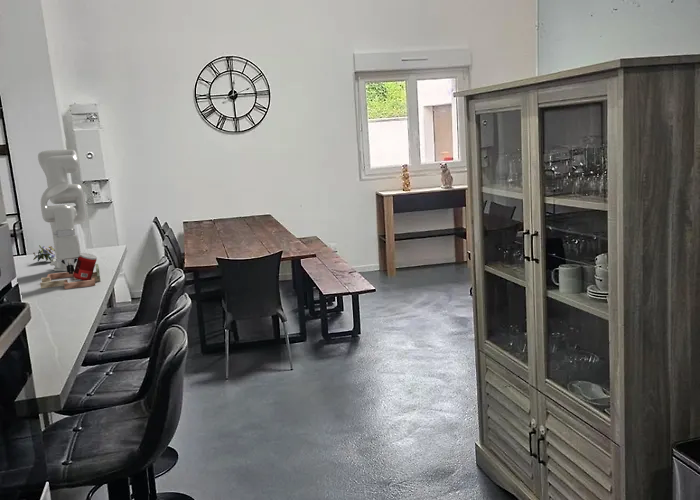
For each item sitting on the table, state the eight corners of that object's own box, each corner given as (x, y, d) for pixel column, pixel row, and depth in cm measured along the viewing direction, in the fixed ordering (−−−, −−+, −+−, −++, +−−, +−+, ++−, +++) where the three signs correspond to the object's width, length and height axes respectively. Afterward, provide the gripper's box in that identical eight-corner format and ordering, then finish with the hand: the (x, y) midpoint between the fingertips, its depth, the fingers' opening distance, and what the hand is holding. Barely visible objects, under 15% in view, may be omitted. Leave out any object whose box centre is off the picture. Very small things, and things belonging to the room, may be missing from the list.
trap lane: (39, 292, 276) (38, 278, 275) (43, 279, 303) (41, 267, 302) (101, 284, 285) (99, 271, 284) (99, 273, 312) (97, 261, 311)
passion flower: (54, 271, 352) (56, 255, 345) (31, 270, 347) (33, 254, 340) (54, 257, 360) (56, 241, 353) (32, 256, 355) (34, 240, 348)
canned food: (94, 280, 298) (100, 257, 297) (82, 281, 291) (88, 258, 289) (81, 274, 300) (87, 252, 299) (69, 275, 293) (75, 252, 291)
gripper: (47, 235, 283) (52, 277, 286) (83, 232, 289) (88, 272, 291) (48, 234, 290) (53, 274, 293) (83, 231, 296) (88, 270, 298)
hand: (71, 273), depth 292 cm, fingers closed
